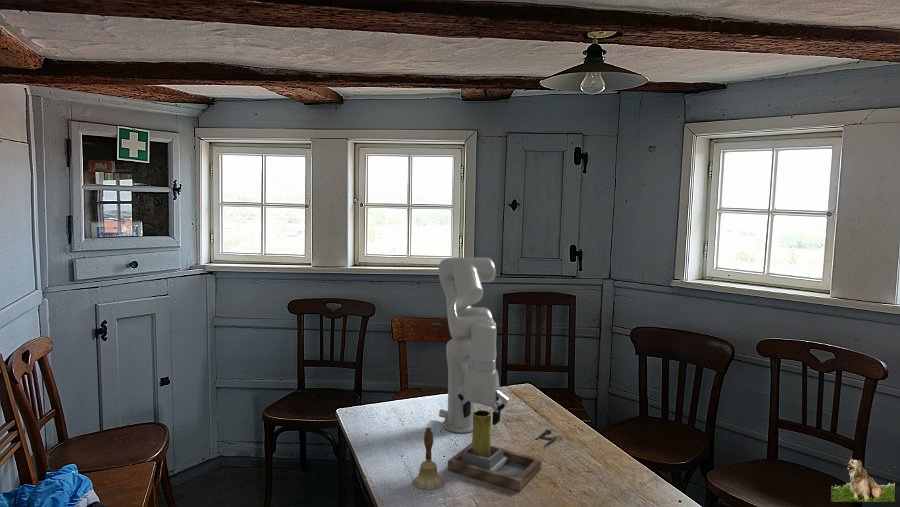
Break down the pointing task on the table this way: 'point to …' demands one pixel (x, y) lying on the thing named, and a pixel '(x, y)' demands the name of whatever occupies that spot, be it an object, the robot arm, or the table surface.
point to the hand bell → (428, 467)
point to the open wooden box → (500, 470)
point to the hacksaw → (547, 437)
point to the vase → (481, 433)
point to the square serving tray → (489, 463)
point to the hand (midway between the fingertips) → (481, 419)
